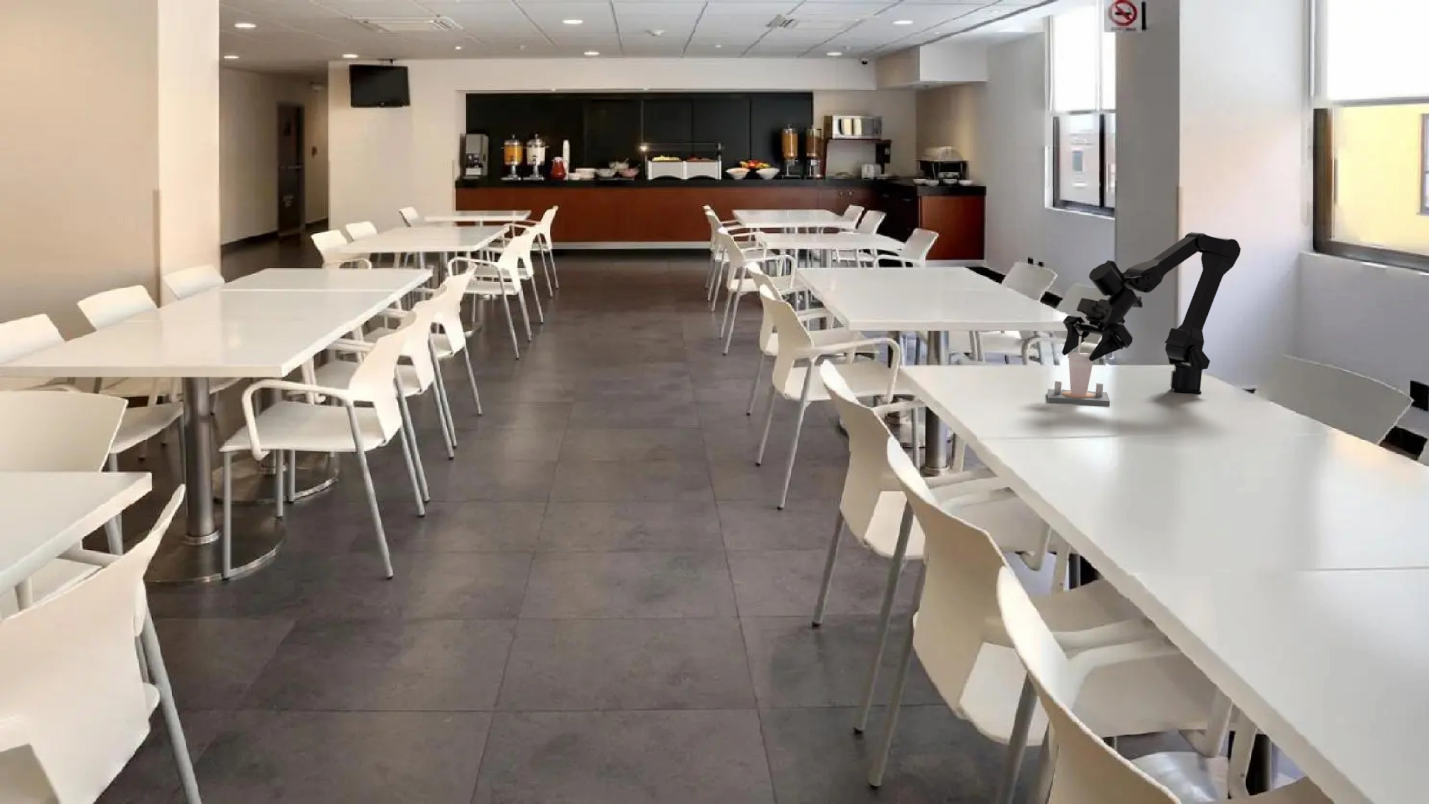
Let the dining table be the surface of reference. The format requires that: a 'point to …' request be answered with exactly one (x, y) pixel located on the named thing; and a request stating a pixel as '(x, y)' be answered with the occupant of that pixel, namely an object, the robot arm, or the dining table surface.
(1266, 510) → the dining table surface
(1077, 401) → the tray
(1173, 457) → the dining table surface
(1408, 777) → the dining table surface
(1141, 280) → the robot arm
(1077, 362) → the smoothie
